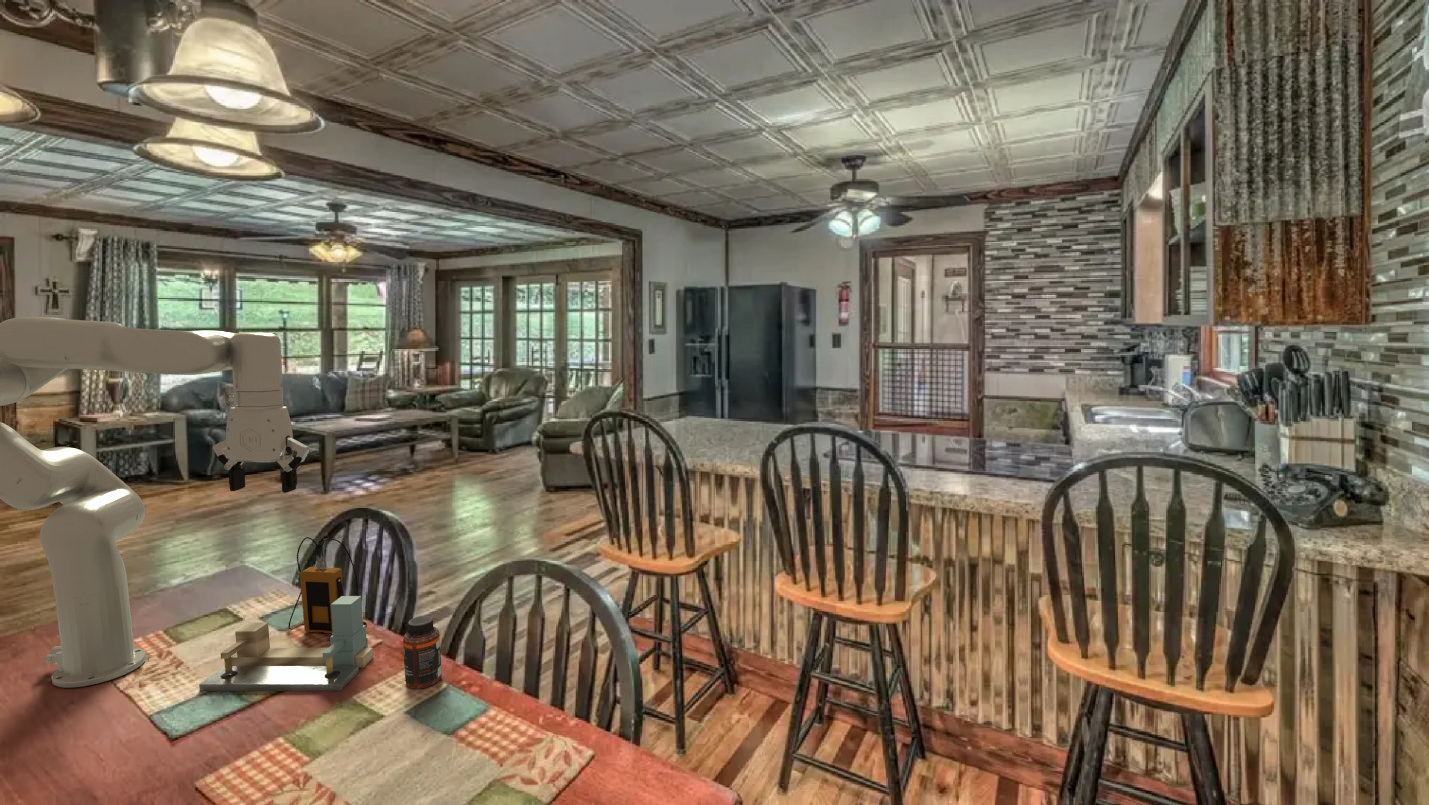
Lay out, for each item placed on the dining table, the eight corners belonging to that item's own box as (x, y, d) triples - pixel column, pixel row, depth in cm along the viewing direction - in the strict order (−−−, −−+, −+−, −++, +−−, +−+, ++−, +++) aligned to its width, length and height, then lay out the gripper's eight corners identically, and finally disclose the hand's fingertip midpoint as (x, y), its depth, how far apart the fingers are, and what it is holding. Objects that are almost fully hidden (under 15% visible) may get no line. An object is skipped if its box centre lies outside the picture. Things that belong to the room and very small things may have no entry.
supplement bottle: (449, 677, 118) (446, 616, 117) (422, 693, 113) (419, 630, 112) (425, 669, 121) (422, 610, 120) (397, 685, 116) (394, 623, 114)
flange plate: (199, 691, 114) (199, 683, 113) (224, 672, 120) (224, 665, 119) (340, 690, 114) (340, 683, 114) (358, 672, 120) (358, 665, 120)
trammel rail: (209, 684, 116) (205, 646, 115) (245, 657, 125) (242, 622, 124) (347, 683, 116) (345, 645, 115) (373, 657, 125) (371, 622, 124)
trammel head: (316, 681, 116) (311, 617, 115) (347, 652, 126) (343, 594, 125) (339, 681, 116) (335, 617, 115) (368, 652, 126) (364, 594, 125)
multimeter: (383, 614, 144) (378, 525, 141) (354, 636, 134) (348, 540, 131) (320, 611, 145) (314, 522, 143) (286, 632, 135) (279, 537, 133)
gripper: (196, 400, 119) (202, 494, 121) (293, 403, 119) (297, 496, 121) (227, 396, 126) (232, 484, 128) (317, 399, 126) (321, 486, 128)
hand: (263, 490), depth 124 cm, fingers open, 9 cm apart
